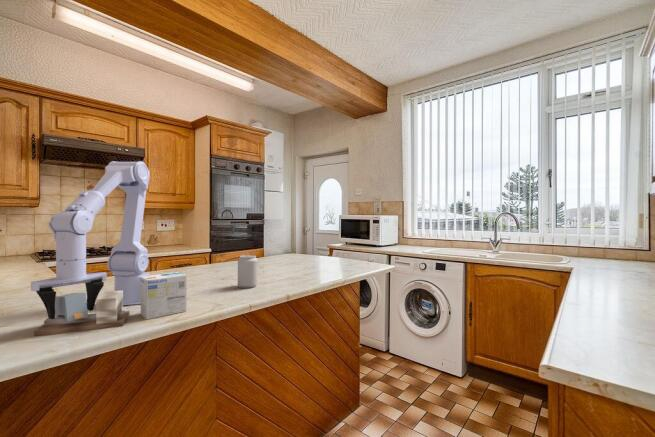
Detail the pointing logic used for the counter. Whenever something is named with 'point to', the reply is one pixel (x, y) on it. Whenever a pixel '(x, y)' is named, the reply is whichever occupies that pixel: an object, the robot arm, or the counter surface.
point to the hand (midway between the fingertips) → (71, 313)
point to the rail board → (91, 317)
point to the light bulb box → (163, 294)
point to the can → (247, 271)
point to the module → (71, 306)
